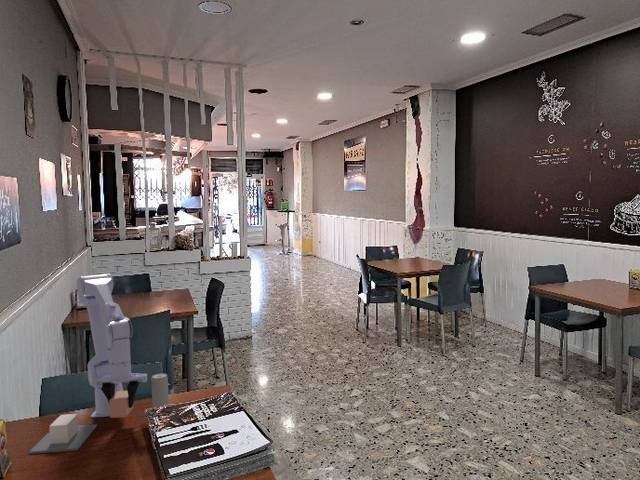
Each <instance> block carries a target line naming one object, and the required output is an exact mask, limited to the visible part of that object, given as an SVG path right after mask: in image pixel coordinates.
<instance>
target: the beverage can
mask: <svg viewBox="0 0 640 480" xmlns="http://www.w3.org/2000/svg"><path fill="white" fill-rule="evenodd" d="M150 380H151V381H150V382H151V400H152V402H151V403H152V404H151V405H152V409H153V408H154V407H160V406H164V405H169V406H170V402H169V401H170V400H169V398H170V397H169V377H168V374H167V373H163V372H161V373H156V374H155V373H154V374H153V375H152V376H151V379H150Z"/></svg>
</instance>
